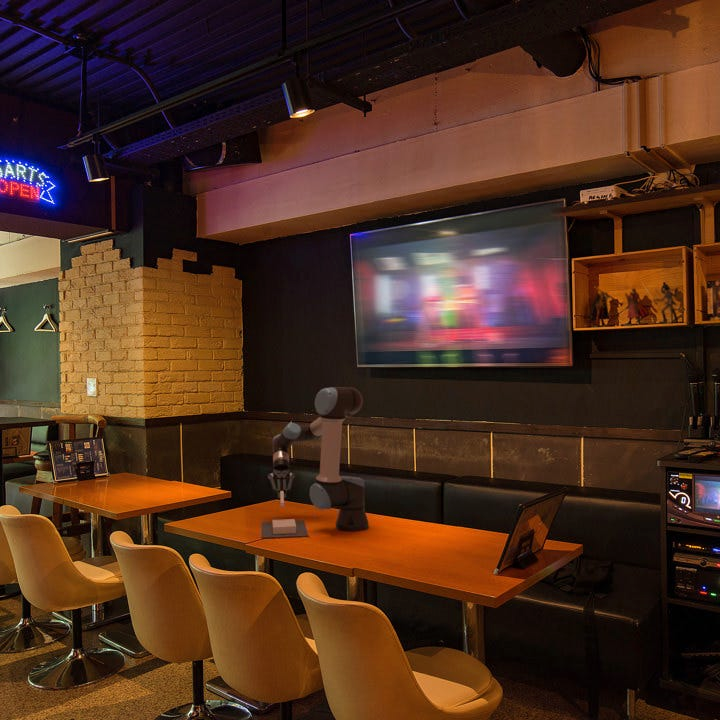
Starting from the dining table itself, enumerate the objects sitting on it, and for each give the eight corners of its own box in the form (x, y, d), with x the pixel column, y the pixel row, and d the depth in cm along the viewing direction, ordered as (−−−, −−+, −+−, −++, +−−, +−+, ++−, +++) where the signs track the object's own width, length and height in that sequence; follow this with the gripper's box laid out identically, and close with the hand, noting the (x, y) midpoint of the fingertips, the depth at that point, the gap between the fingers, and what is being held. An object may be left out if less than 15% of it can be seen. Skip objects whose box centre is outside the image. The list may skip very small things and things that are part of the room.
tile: (272, 519, 309) (272, 527, 294) (294, 519, 311) (296, 526, 296) (272, 527, 309) (272, 534, 294) (294, 526, 311) (296, 533, 296)
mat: (261, 524, 320) (261, 521, 321) (304, 522, 323) (304, 520, 323) (261, 539, 291) (261, 537, 291) (308, 537, 294) (308, 534, 294)
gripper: (294, 467, 329) (296, 508, 313) (267, 468, 328) (267, 509, 311) (294, 457, 324) (296, 499, 307) (267, 458, 322) (267, 500, 306)
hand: (282, 504), depth 309 cm, fingers closed
